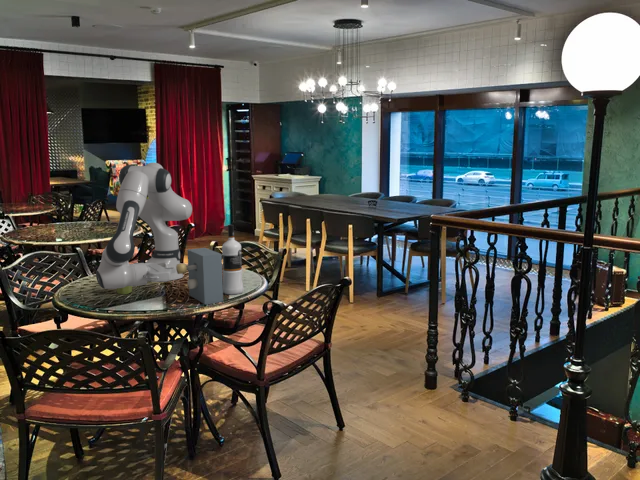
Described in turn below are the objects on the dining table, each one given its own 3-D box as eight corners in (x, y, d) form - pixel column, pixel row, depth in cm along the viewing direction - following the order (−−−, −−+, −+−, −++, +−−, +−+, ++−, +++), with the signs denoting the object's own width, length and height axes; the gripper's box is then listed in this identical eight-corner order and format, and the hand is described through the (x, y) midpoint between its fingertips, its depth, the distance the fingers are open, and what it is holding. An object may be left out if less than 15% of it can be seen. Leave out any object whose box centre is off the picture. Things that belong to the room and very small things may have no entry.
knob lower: (191, 290, 240) (190, 280, 240) (187, 288, 244) (187, 278, 243) (221, 285, 248) (221, 276, 247) (218, 283, 251) (217, 274, 250)
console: (204, 304, 237) (202, 256, 234) (189, 295, 252) (187, 249, 249) (223, 301, 241) (221, 254, 238) (206, 292, 256) (205, 247, 253)
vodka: (231, 289, 262) (228, 222, 257) (248, 291, 258) (246, 224, 253) (218, 293, 254) (215, 225, 249) (235, 296, 250) (233, 226, 245)
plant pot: (115, 296, 251) (113, 276, 249) (111, 291, 259) (110, 272, 258) (137, 293, 255) (136, 274, 254) (133, 289, 263) (132, 270, 262)
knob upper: (179, 274, 237) (179, 265, 236) (176, 273, 240) (176, 263, 240) (211, 270, 244) (210, 261, 243) (207, 269, 247) (207, 259, 247)
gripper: (147, 271, 221) (182, 266, 229) (133, 262, 238) (166, 258, 246) (148, 287, 222) (183, 282, 230) (134, 277, 239) (167, 272, 247)
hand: (174, 269), depth 238 cm, fingers closed
